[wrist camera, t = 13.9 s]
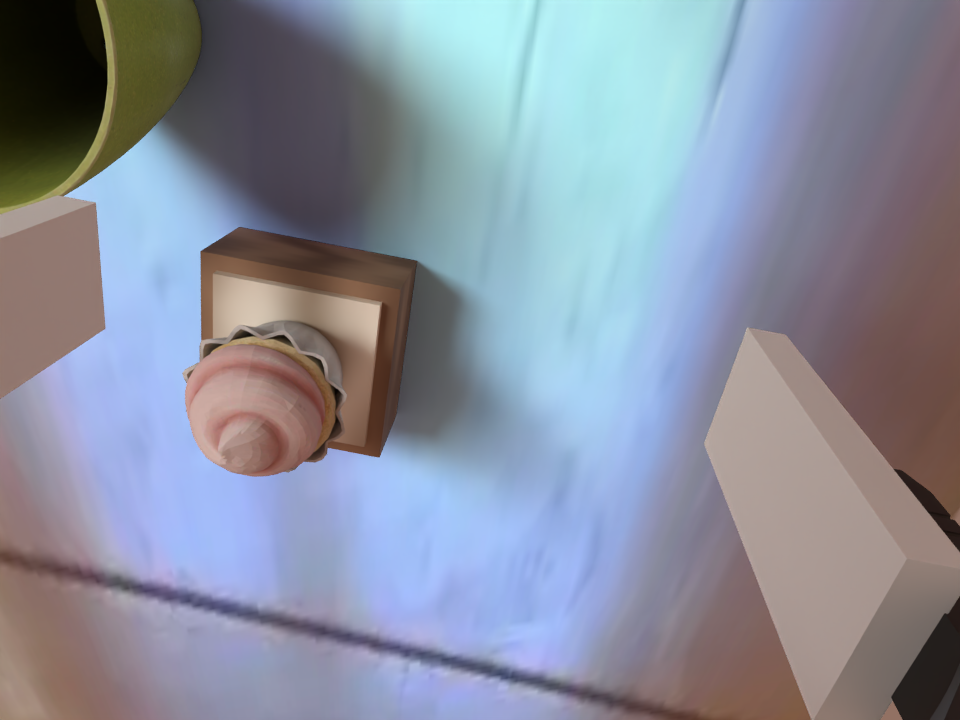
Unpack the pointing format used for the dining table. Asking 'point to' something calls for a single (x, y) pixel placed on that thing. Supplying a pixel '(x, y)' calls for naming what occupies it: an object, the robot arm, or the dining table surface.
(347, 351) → the walnut base
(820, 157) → the dining table surface
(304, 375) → the cupcake
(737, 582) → the dining table surface
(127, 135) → the flower pot
